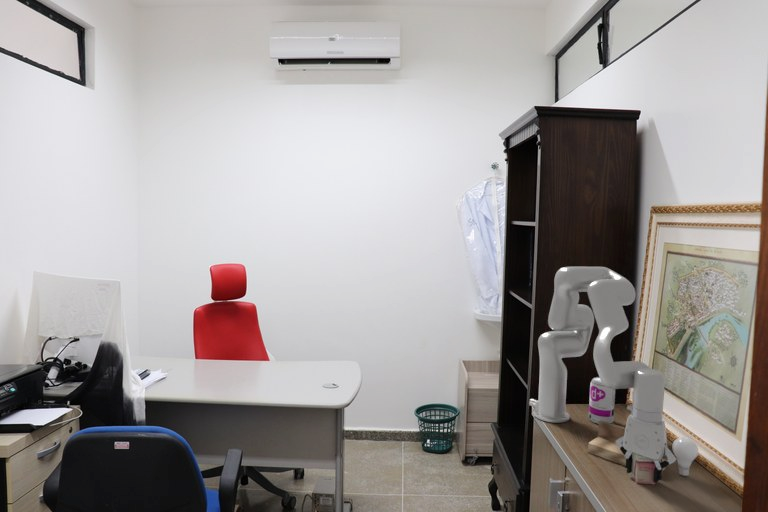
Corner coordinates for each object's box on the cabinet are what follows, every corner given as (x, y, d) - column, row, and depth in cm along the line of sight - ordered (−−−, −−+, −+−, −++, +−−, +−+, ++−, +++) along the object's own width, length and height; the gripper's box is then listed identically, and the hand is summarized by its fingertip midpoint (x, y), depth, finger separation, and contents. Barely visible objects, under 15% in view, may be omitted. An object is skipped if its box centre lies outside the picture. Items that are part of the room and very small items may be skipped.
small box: (636, 483, 140) (638, 455, 140) (630, 475, 145) (632, 448, 144) (655, 485, 140) (657, 457, 139) (649, 477, 144) (651, 450, 143)
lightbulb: (666, 469, 148) (668, 433, 148) (688, 470, 148) (690, 434, 147) (677, 480, 142) (680, 442, 141) (701, 481, 142) (703, 443, 141)
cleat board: (587, 452, 159) (589, 427, 158) (599, 444, 164) (600, 420, 164) (656, 476, 144) (658, 449, 144) (667, 467, 150) (668, 440, 149)
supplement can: (602, 427, 178) (605, 385, 177) (583, 418, 185) (585, 378, 184) (618, 423, 182) (620, 382, 181) (599, 415, 189) (601, 375, 188)
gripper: (609, 408, 144) (606, 469, 146) (677, 427, 132) (672, 493, 133) (620, 402, 149) (616, 460, 151) (686, 420, 137) (681, 483, 138)
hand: (643, 475), depth 142 cm, fingers closed on small box, 6 cm apart
